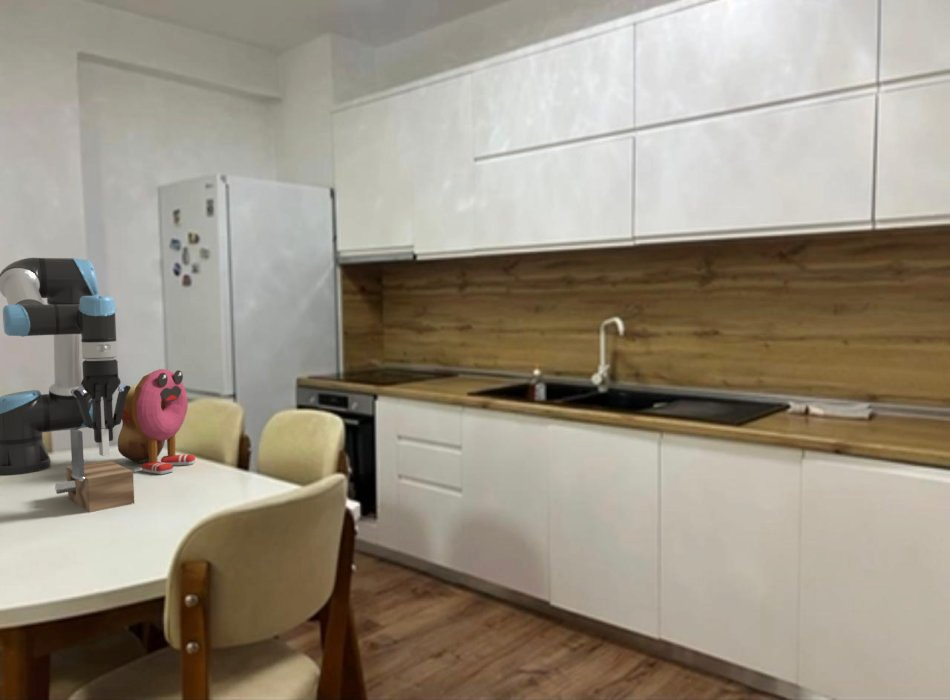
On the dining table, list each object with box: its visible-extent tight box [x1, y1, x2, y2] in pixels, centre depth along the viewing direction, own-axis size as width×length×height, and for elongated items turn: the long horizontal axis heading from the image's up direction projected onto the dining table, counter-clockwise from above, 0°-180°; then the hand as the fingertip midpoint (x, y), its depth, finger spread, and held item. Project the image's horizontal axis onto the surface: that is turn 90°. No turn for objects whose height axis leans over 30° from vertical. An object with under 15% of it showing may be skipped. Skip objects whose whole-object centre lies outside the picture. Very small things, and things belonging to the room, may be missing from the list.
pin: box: [54, 480, 76, 495], centre depth 173 cm, size 15×5×5 cm, turn 135°
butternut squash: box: [117, 383, 166, 464], centre depth 213 cm, size 14×13×25 cm
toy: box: [132, 368, 196, 475], centre depth 204 cm, size 21×10×30 cm, turn 168°
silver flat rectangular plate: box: [69, 429, 86, 482], centre depth 163 cm, size 7×1×12 cm, turn 45°
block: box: [66, 460, 135, 513], centre depth 171 cm, size 18×10×8 cm, turn 45°
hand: (104, 454), depth 167 cm, fingers closed
